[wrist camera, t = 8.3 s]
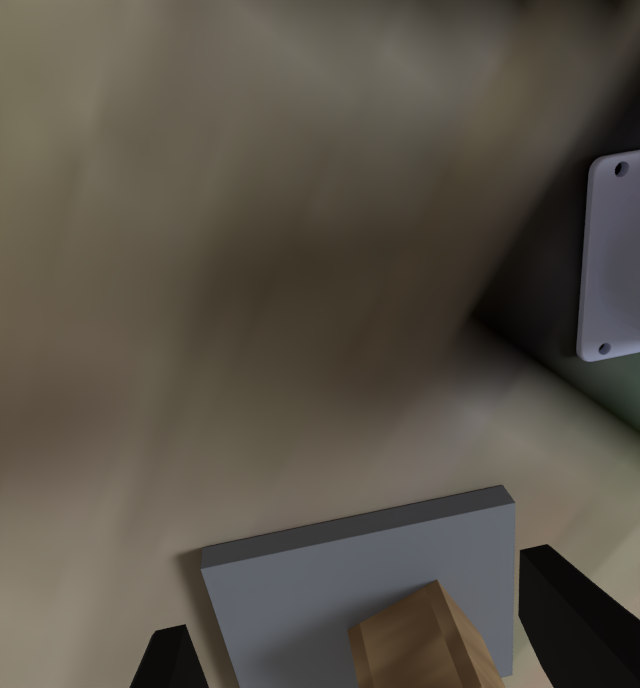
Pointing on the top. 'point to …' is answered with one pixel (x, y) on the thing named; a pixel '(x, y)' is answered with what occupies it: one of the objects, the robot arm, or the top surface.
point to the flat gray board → (359, 585)
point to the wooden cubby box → (422, 646)
